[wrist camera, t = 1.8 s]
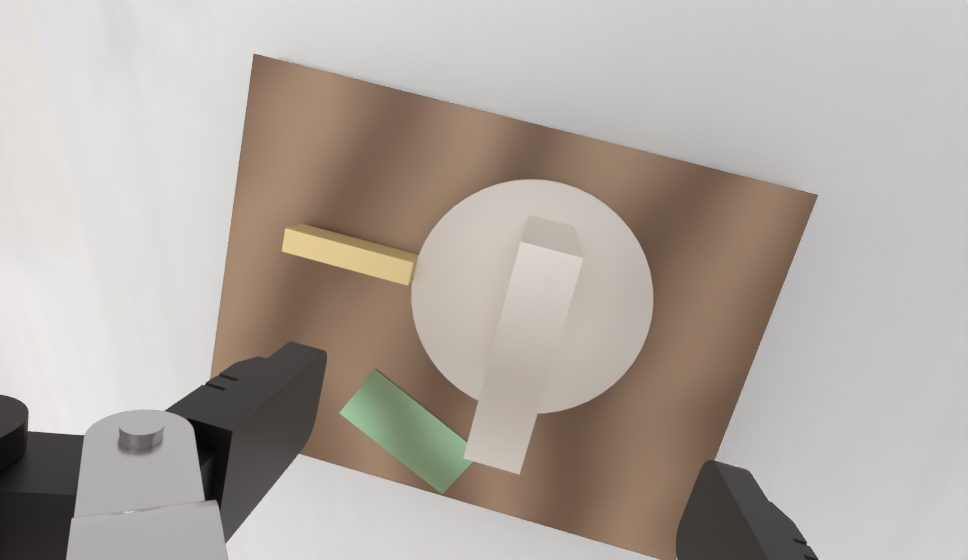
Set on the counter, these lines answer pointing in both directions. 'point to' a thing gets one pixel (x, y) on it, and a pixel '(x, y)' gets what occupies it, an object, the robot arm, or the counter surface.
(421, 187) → the dial board
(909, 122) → the counter surface
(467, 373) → the dial knob
